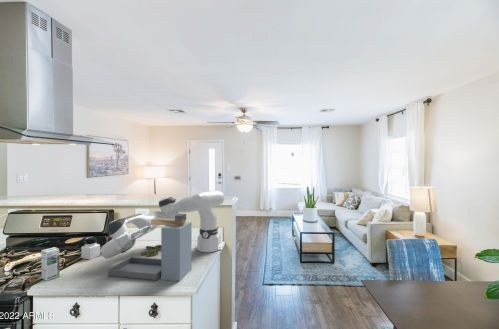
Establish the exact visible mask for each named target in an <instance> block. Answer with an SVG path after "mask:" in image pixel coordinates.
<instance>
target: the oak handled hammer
mask: <svg viewBox="0 0 499 329" xmlns="http://www.w3.org/2000/svg"><path fill="white" fill-rule="evenodd" d="M186 220H187V213H180V214H177V215H175V219H158V218H154V219H151V224H155V225H159V226H160V225H161V226H166V225H173V226H184V225H186V222H187V221H186Z"/></svg>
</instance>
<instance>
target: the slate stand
mask: <svg viewBox="0 0 499 329" xmlns="http://www.w3.org/2000/svg"><path fill="white" fill-rule="evenodd" d="M192 228H193V227H192V221H186V225H184V226H173V225H163V227H161V229H160V230H161V231H160V232H161V238H160V239H161V240H160V243H161V244H160V245H161V251H160V253H161V254H160V256H161V257H160V259H161V278H160V279H161V280H163V281H164V280H165V281H172V282H181V281H183V279H184V278H185V277H186V275H187V274H188V273H190V272H191V271H192V240H193V239H192V232H193V230H192ZM187 276H188V275H187Z"/></svg>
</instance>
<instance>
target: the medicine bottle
mask: <svg viewBox="0 0 499 329" xmlns="http://www.w3.org/2000/svg"><path fill="white" fill-rule="evenodd" d="M97 241H98V240H97V237H95V236H88V237H86V238H85V239H84V245H82V246H81V248H80V249H81V252H80V253H81V254H80V255H81V257H80V258H81V259H86V260H92V259H95V258H98V257H100V256H101V251H100V250H101V245H100V244H99V243H97Z"/></svg>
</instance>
